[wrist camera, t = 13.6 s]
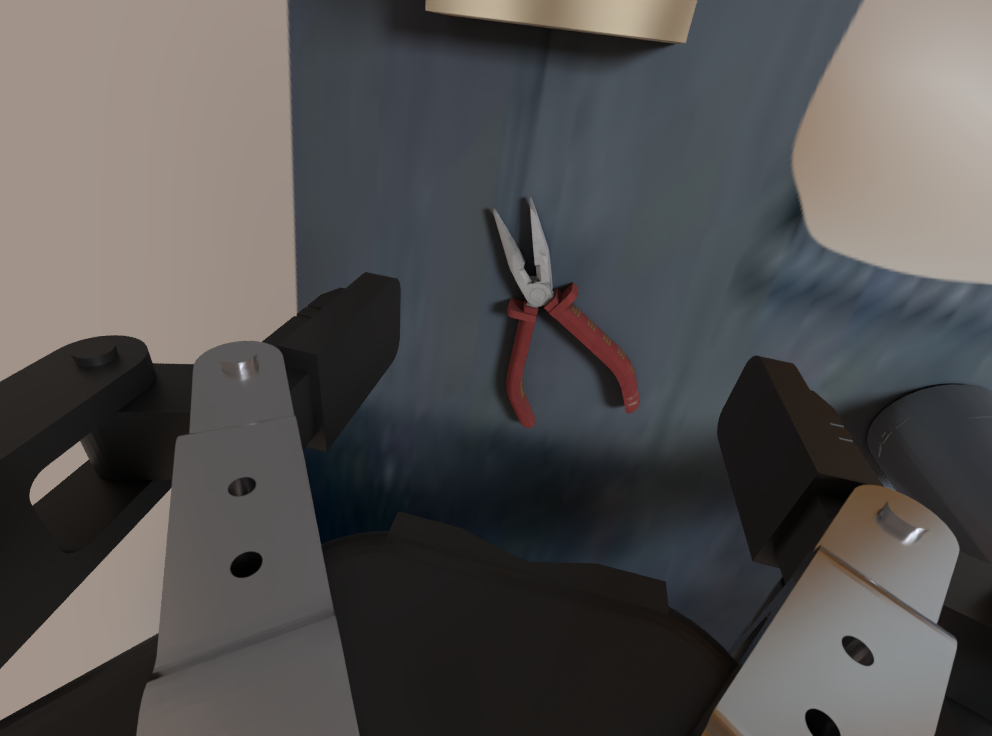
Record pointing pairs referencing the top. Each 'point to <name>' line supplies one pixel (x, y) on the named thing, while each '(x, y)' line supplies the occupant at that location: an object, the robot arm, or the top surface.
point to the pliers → (560, 309)
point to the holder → (583, 15)
